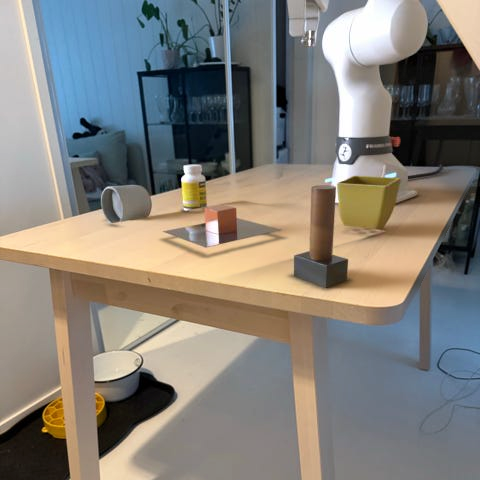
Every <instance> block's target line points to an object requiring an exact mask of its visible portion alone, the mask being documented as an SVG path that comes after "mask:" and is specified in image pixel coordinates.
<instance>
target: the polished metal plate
mask: <svg viewBox="0 0 480 480" xmlns="http://www.w3.org/2000/svg"><path fill="white" fill-rule="evenodd" d="M280 231H282V229H280V228H276V227H272V226H270V225H266V224H261V223H259V222H258V223H257V222H254V221H249V220H247V219H243V218H239V217H237V231H232V232H228V233H223V234H216V233H213V232H209V231H206V223H205V222H203V223H198V224H193V225H188V226H187V225H186V226H183V227H178V228H173V229H167V230H163V231H162V233H165V234H168V235H170V236H172V237H175V238H179V239H181V240H183V241H186V242H188V243H191V244H194V245H197V246H199V247H202V248H204V249H206V248H210V247H215V246H219V245H222V244H223V245H224V244H227V243H232V242H235V241H241V240H244V239H249V238H254V237H257V236H261V235H266V234H270V233H274V232H280Z"/></svg>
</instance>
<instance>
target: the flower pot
mask: <svg viewBox="0 0 480 480" xmlns="http://www.w3.org/2000/svg"><path fill="white" fill-rule="evenodd" d="M400 180H401V178H393V177H371V176H352V177H350V178H348V179H346V180H344V181H341V182H338V183H337V193H338V203H337V205H338V206H337V207H338V213H339V214H338V215H339V217H340V220H341V222H342V225H343V226H345V227H355V228H356V227H357V228H366V229H374V230H379V231H381V230H383V229H384V227H385V226H386V225H387V222H389V220H390V218H391V216H392V214H393V212H394V209H395V206H396V204H397V203H396V198H397V194H398V190H399V185H400Z"/></svg>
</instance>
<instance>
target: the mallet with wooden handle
mask: <svg viewBox="0 0 480 480" xmlns="http://www.w3.org/2000/svg"><path fill="white" fill-rule="evenodd" d="M310 189H311V191H310V194H311V195H310V197H311V198H310V223H309V225H310V226H309V250H308V251H305V252H301V253H297V254H294V255H293V277H295V278H298V279H300V280H303V281H306V282H309V283H312V284H314V285H317V286H320V287H323V288H325V289H327V288H330V287H332V286H336V285H338V284H341V283H344V282H347V281H348V270H349V269H348V268H349V258H347V257H346V258H345V257H344V256H343V257H342V256H339V255H335V254H333V253H334V252H333V249H334V233H335V232H334V231H335V216H336V215H335V213H336V203H335V198H336V187H335V186H331V184H328V185H327V184H317V185H313V186H311V188H310Z"/></svg>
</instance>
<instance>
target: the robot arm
mask: <svg viewBox="0 0 480 480" xmlns="http://www.w3.org/2000/svg"><path fill="white" fill-rule="evenodd" d="M286 3H287V4H286V5H287V10H288V11H287V12H288V18H289V29H288V30H289V35H290V37H292V38H294V39H298V38H301V44H302V46H303V47H304V48H314V47H316V45H317V33H318V27H319V22H320V14H322V13H323V14H324V13H326V12H327V10H328V8H329V4H330V0H286ZM428 24H429V21H428V14H427V12H426V9H425V7H424V5H423V4H422V3H421V1H420V0H367V2H366V4H365V6H361V7H359V8H356V9H351V10H349V11H346V12H344V13H343V14H341V15H339V16H338V17H336V18H335V19H334V20H333V21H331V22H330V23H329V24H328V25H327V26H326V28H325V30H324V32H323V36H322V40H321V46H322V48H321V49H322V53H323V56H324V58H325V60H326V61H327V62H328V63H329V65H330V66H331V69H332V71H333V74H334V76H335V81H336V85H337V90H338V99H339V112H338V113H339V115H338V117H339V118H338V120H339V121H338V136H337V137H336V139H335V141H336V142H335V154H336V159H335V161H334V163H333V169H332V175H331V177H330V178H326V179H325V180H324V182H325V183H329V182H331V183H330V185H331V186H335V187H336V198H335V204H338V193H337V183H338V182H341V181H344V180H346V179H348V178H350V177H352V176H371V177H393V178H401V180H400V185H399V190H398V194H397V198H396V203H395V204H398V203H400V202H403V201H406V200H408V199H411V198H413V197H416V196H418V192H417V191H416V190H414V189H409V188H408V181H409V180H414V179H419V178H426V177H431V176H436V175H438V174H439V173H440V172H442V170H443V169H444V166H443V164H439V166H438V168H437V170H435V171H430V172H425V173H419V174H418V173H417V174H411V175H409V174H408V170H407V168H405V166H404V165H403V164H402V163H401V162H400V161H399V160H398V159H397V157H396V156H395V155H394V154H393V152H394V150H393V147H399V146H400V145H401V138H400V136H396V137H394V136H391V135H390V128H391V118H392V107H393V104H392V103H393V98H392V95H391V93H390V92H389V90H387V88H385V86H384V85H383V82H382V79H381V73H380V66H383V65H391V64H396V63H398V62H400V61H402V60H405V59H408V58H409V57H410V56H413V55H414V54H417V52H418V51H419V50H420V49H421V48H422V46H423V45H424V43H425V40H426V37H427V33H428V27H429V26H428Z"/></svg>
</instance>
